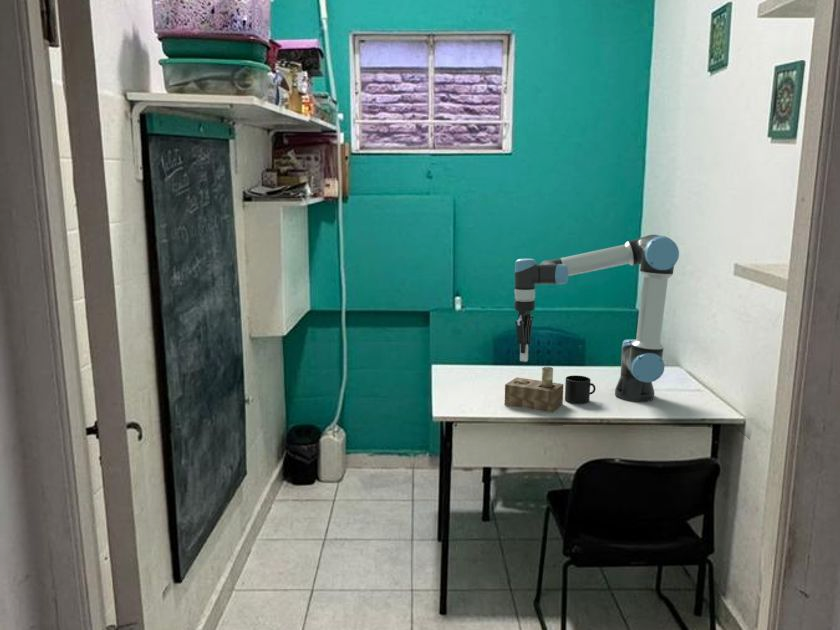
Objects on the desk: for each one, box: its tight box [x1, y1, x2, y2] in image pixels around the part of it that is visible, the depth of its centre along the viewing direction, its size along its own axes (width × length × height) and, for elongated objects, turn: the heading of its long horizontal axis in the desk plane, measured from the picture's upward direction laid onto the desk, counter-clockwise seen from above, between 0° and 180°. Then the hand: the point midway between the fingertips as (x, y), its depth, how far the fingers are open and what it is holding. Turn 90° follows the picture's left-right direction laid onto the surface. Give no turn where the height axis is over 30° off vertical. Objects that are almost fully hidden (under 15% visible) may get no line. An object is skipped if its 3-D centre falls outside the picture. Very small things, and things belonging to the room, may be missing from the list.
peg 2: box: [541, 366, 554, 389], centre depth 262 cm, size 4×4×8 cm
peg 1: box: [517, 380, 527, 385], centre depth 268 cm, size 4×4×8 cm
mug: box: [564, 374, 596, 405], centre depth 271 cm, size 9×12×9 cm
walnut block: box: [504, 376, 564, 413], centre depth 265 cm, size 19×12×8 cm, turn 61°
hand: (523, 360), depth 266 cm, fingers closed
